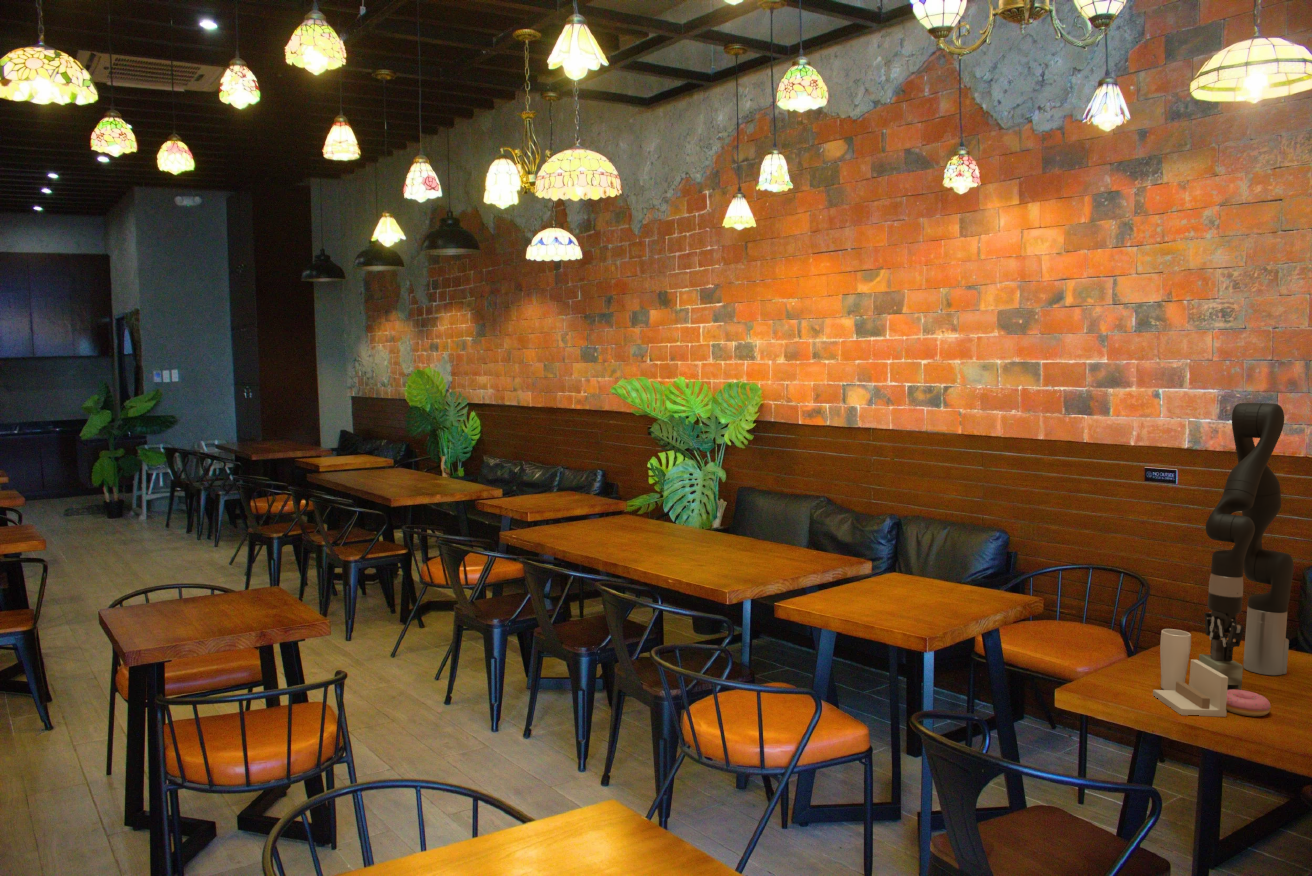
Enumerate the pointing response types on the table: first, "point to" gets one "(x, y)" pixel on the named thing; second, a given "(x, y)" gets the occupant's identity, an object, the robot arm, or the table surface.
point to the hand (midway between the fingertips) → (1220, 657)
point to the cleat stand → (1198, 693)
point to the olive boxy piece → (1223, 665)
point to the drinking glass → (1174, 657)
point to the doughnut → (1247, 703)
